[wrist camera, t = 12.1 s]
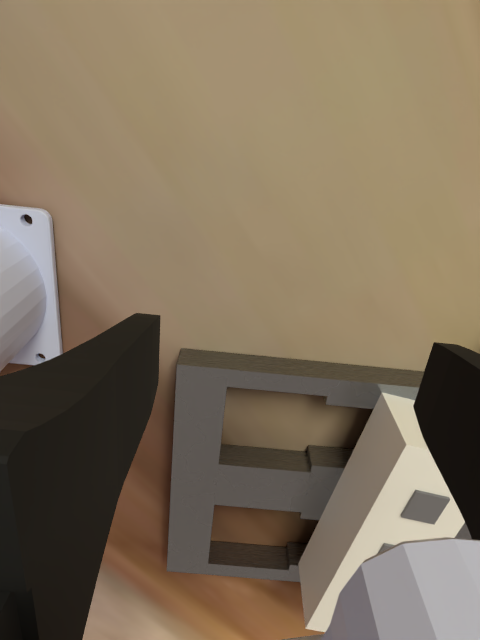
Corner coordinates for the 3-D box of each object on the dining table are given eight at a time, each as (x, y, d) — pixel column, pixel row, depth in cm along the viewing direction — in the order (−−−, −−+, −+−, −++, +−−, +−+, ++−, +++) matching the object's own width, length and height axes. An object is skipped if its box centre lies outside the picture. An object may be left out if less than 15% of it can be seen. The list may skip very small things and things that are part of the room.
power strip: (296, 546, 29) (305, 631, 24) (375, 379, 23) (407, 447, 18) (361, 559, 29) (383, 645, 24) (453, 398, 24) (504, 469, 19)
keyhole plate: (170, 548, 29) (166, 571, 28) (181, 348, 23) (176, 364, 22) (440, 570, 30) (450, 594, 28) (524, 381, 24) (542, 399, 22)
